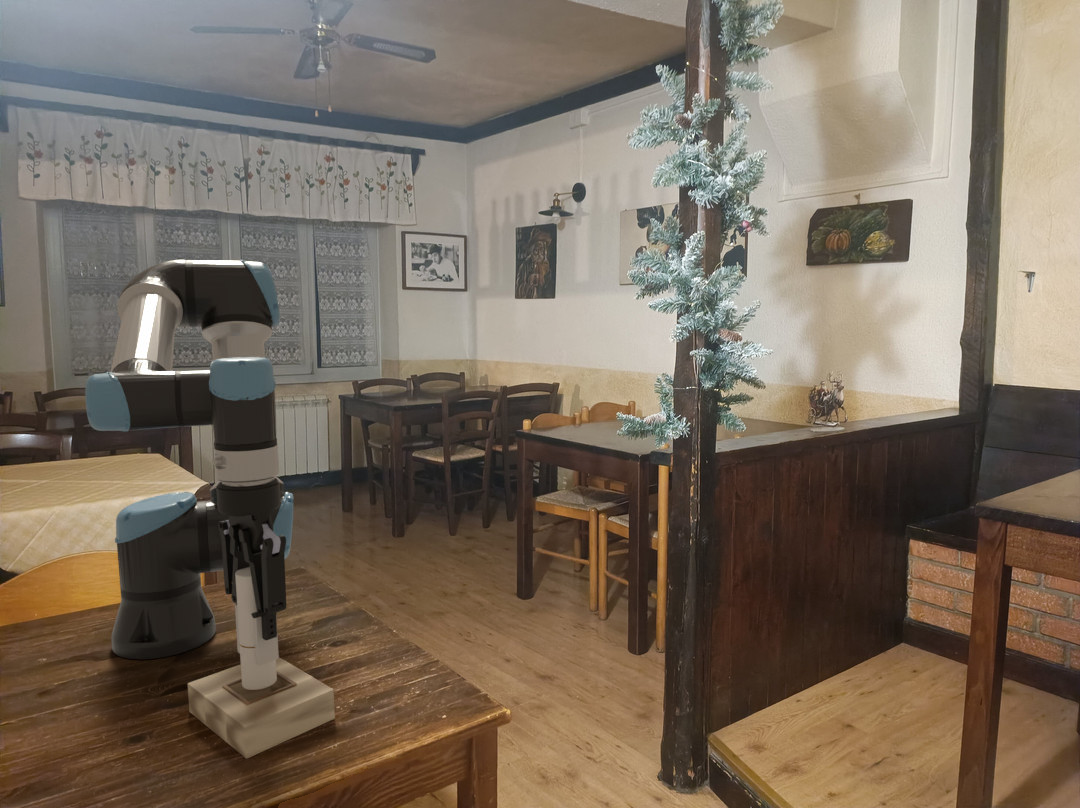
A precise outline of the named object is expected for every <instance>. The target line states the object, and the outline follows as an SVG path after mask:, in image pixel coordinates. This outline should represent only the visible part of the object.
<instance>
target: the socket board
mask: <svg viewBox="0 0 1080 808" xmlns="http://www.w3.org/2000/svg"><path fill="white" fill-rule="evenodd" d="M276 673H277V680H276V682H275V683H274V684H273V685H271V686H269V687H266V688H263V689H257V690H249V689H245V688H244V687H243V686H242V677H241V663H240V664H238V665H235V666H232V667H229V668H227V669H224V670H221V671H218V672H215V673H213V674H210V675H208V676H204V677H201V678H198V679H195V680H192V681H190V682H187V695H188V696H187V697H188V708H189V709H188V710H189V714H192V715H193V716H194V717H196V719H197V720H198V721H200V722H201V723H202V724H204V726H206V727H207V728H209V729H210V730H211V731H212V732H213V733H215V735H217V736H218V737H220V738H221V740H224V742H225V743H227V744H228V745H229V746H231V747H232V748H233V749H234V750H235V751H236V752H238V754H240V755H241V756H243V757H244V758H245V759H246V760H247V759H249V758H252V757H254V756H255V755H257V754H259V753H262V752H265V751H266V750H268V749H271V748H273V747H276V746H277V745H280V744H282V743H284V742H286V741H289V740H290V739H293V738H296V737H297V736H300V735H301V734H303V733H307V732H308V731H311V730H312V729H315V728H317V727H320V726H322V725H324V724H326V723H328V722H330V721H332V720H335V718H336V716H335V694H334V693H335V692H334V691H335V690H334V688H332V687H330V686H328V685H327V684H325V683H323V682H322V681H320V680H319V679H316V678H315V677H314V676H312V675H310V674H308V673H307V672H305V671H303V670H301V669H300V668H299V667H297V666H295V665H293V664H291V663H290V662H288V661H286V660H285V659H283V658H281V657H280V656H279V658H278V659H276Z"/></svg>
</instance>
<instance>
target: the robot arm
mask: <svg viewBox="0 0 1080 808" xmlns="http://www.w3.org/2000/svg"><path fill="white" fill-rule="evenodd" d="M120 292H121V293H120V295H119V298H118V303H117V314H118V317H119V319H120V321H121V323H120V326H119V332H118V336H117V341H116V345H115V350H114V356H113V360H112V364H111V369H110V371H106V372H103V373H94V374H92V375H90V376H89V377H88V378H87V379H86V383H85V392H84V393H85V409H86V415H87V420H88V423H89V425H90V426H91V428H92V429H93V430H96V431H99V432H108V431H109V432H117V431H118V432H124V433H126V432H128V431H139V430H155V429H166V428H167V429H168V428H185V427H186V428H187V427H203V426H212V431H213V451H214V458H213V459H212V460H211V464H212V465H213V466H214V468H215V478H216V479H217V480H216V482H215V483H214V484H213V485H212V486H211V487H210V489H209V494H210V499H209V500H200V501H199V500H197V499H198V497H196V495H195V494H194V493H193V492H189V491H184V492H177V491H176V492H172V493H171V492H170V493H166V494H165V493H164V494H160V495H159V494H158V495H155V496H152V497H147V498H144V499H141V500H139V501H136V502H133V503H131V504H129V505H127V506H125V507H124V508H122V509H121V510H120V511H119V513H117V515H116V519H115V537H114V538H115V539H114V541H115V542H114V543H116V548H117V549H116V550H117V563H118V575H119V577H118V578H119V585H120V586H119V587H120V589H119V590H120V604H119V606H118V611H117V614H116V617H115V621H114V625H113V628H112V631H111V637H110V638H111V650H112V652H113V653H114V655H117V656H118V657H121V658H124V659H129V660H130V659H131V660H151V659H160V658H167V657H171V656H175V655H179V654H182V653H185V652H188V651H191V650H193V649H197V648H198V647H200V646H202V645H204V644H206V643H208V642H209V640H211V639H212V638H213V637H214V636H215V634H216V630H217V629H216V618H215V615H214V612H213V610H212V608H211V606H210V603H209V601H208V599H207V597H206V594H205V592H204V590H203V588H202V579H201V578H202V577H201V574H204V573H205V574H206V573H213V572H214V573H215V572H219V571H220V572H221V571H223V579H224V581H223V582H224V592H225V594H226V596H229V595H231V601H232V603H233V604H234V610H235V614H234V615H235V627H236V628H235V629H236V630H235V631H236V645H237V646H236V649H237V653H238V654H240V643H239V627H238V610H237V594H236V577H235V573H236V571H238V570H240V569H244V568H248V567H250V571H251V577H252V584H253V590H254V596H255V603H256V609H257V612H254V613H251V615H252V617H253V619H254V636H255V653H256V664H257V665H262V664H265V663H267V662H270V661H273V660H275V659H278V658H279V657H280V654H279V642H278V641H279V638H278V620H277V619H278V617H277V613H279V612H282V611H286V610H287V592H286V591H287V586H286V565H285V562H286V561H285V560H286V559H287V558H288V557H289V555H290V552H291V546H292V545H291V544H292V537H293V523H294V494H293V493H292V492H289V491H285V489H284V482H283V481H282V480H281V479H280V478H279V477H278V475H279V474H280V465H279V464H280V463H279V462H280V461H279V443H278V438H277V413H276V409H277V407H276V392H275V390H276V385H277V384H276V383H277V382H276V381H275V379H276V378H275V375H274V367H273V366H274V365H273V363H272V361H271V360H270V359H269V358H267V357H266V351H265V343H266V342H267V341H268V340H269V339H270V338H271V337H272V335H273V327H276V326H278V325H279V324H280V321H281V319H280V316H281V315H280V308H279V301H278V300H279V299H278V293H277V289H276V284H275V281H274V277H273V274H272V271H271V269H270V267H269V266H268V265H267V264H265V263H264V262H260V261H251V260H250V261H249V260H244V259H239V260H214V259H212V260H211V259H210V260H209V259H207V260H206V259H205V260H201V259H200V260H198V259H172V260H171V259H170V260H166V261H164V262H159V263H157V264H154V265H151V266H149V267H147V268H146V269H144V270H142V271H141V272H139V273H137V275H135V276H134V277H133V278H131V279H130V280H129V281H128V282H127V283H126V285H125V286H124V288H123V289H122V290H121V291H120ZM180 327H181V328H182V327H184V328H185V327H189V328H199V327H200V328H201V336H202V338H203V339H204V340H205V341H207V342H209V343H210V344H211V349H212V351H211V352H212V361H211V363H210V364H209V369H201V370H200V369H196V370H195V369H194V370H173V363H174V349H175V335H176V333H175V332H176V329H177V328H180Z"/></svg>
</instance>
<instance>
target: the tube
mask: <svg viewBox="0 0 1080 808" xmlns="http://www.w3.org/2000/svg"><path fill="white" fill-rule="evenodd" d="M235 577H236V594H237V610H238V627H239V643H240V653H239V654H240V655H239V657H240V659H239V660H240V664H241V677H242V686H243V687H244V688H245V689H249V690H257V689H263V688H266V687H269V686H271V685H273V684H274V683H275V682H276V680H277V673H276V659H275V660H273V661H270V662H267V663H265V664H262V665H257V664H256V653H255V636H254V619H253V617H252V615H251V613H254V612H257V609H256V603H255V596H254V590H253V584H252V577H251V571H250V567H248V568H244V569H240V570H238V571H236V573H235Z"/></svg>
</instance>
